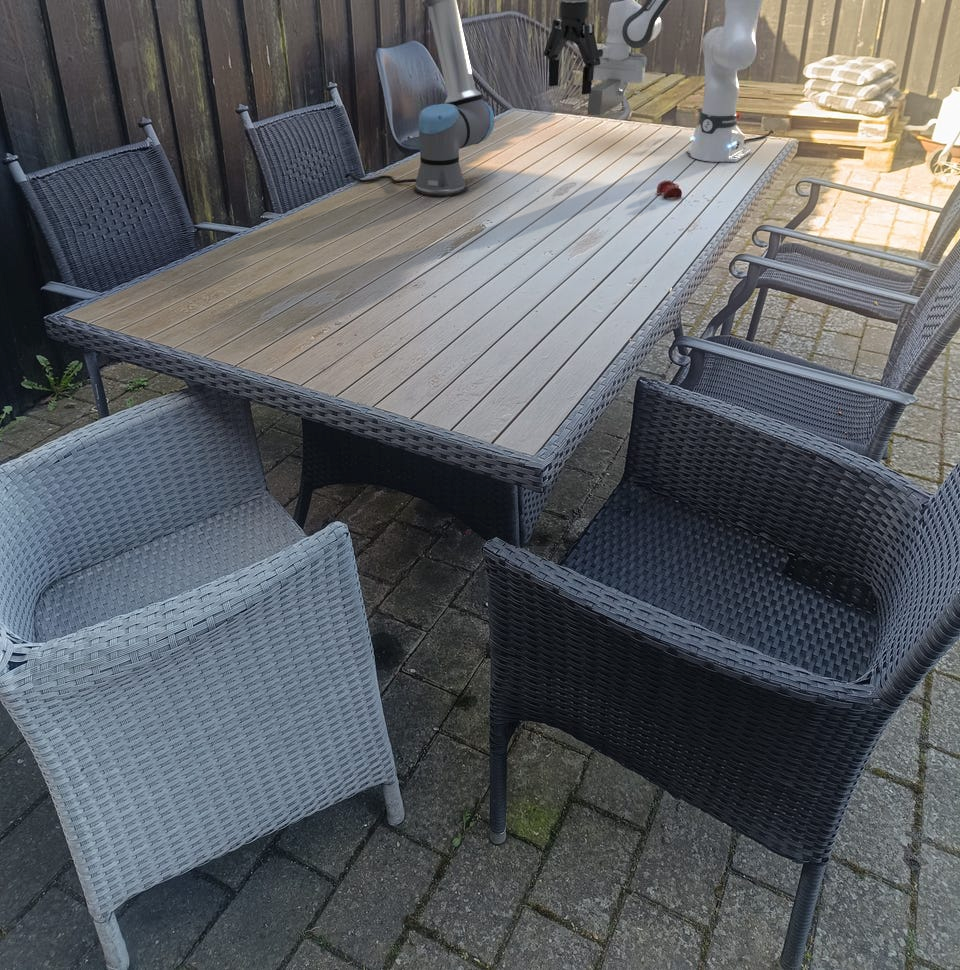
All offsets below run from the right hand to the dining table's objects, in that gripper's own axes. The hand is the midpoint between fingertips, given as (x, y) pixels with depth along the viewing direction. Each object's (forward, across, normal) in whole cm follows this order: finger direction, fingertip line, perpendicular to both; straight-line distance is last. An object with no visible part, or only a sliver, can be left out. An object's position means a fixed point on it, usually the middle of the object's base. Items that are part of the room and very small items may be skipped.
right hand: (614, 94), depth 299 cm
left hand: (-15, -10, +76) cm, 78 cm away
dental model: (+15, -37, +57) cm, 69 cm away
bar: (+3, 0, +9) cm, 9 cm away
